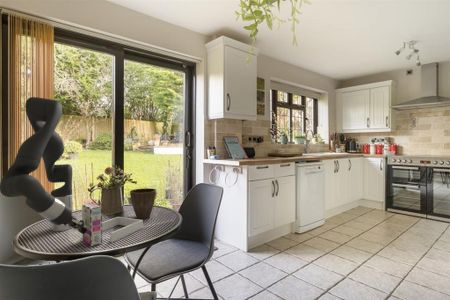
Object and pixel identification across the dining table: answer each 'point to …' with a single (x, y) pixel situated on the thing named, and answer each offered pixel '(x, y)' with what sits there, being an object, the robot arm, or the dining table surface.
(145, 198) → the plant pot
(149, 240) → the dining table surface
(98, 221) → the candy bar box
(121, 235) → the grey bracket
